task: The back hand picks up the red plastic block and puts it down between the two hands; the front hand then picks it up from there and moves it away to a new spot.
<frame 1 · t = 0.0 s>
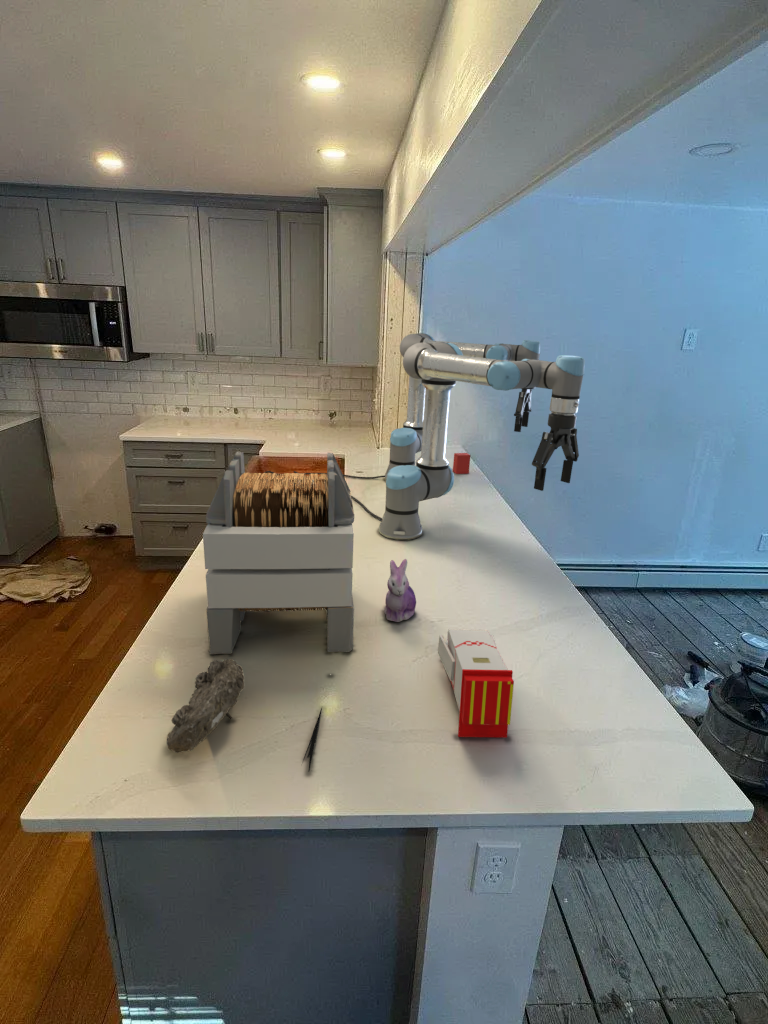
front hand: (552, 485, 166), 28 cm above the counter, tool pointing down, fingers open, 13 cm apart
back hand: (520, 429, 245), 28 cm above the counter, tool pointing down, fingers open, 13 cm apart
block: (460, 472, 280), on the counter
fossil: (212, 717, 108), on the counter
record crate: (285, 616, 144), on the counter
feather: (319, 719, 109), on the counter
toy: (469, 691, 119), on the counter
figurine: (399, 614, 147), on the counter
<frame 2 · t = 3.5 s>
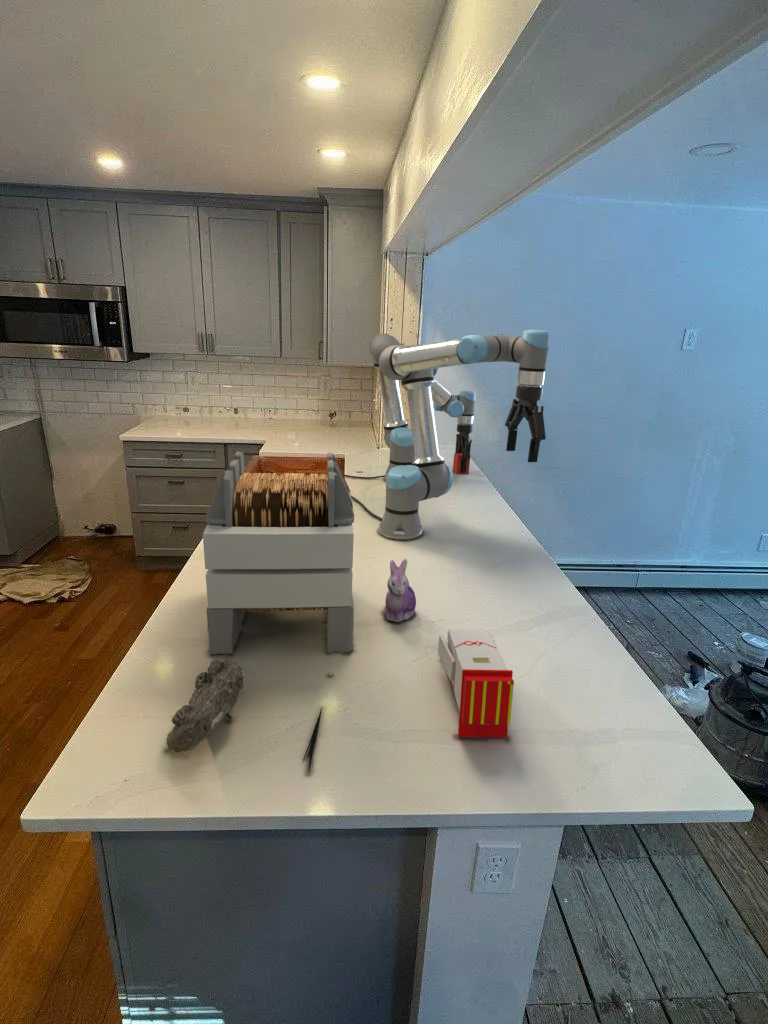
front hand: (521, 456, 173), 34 cm above the counter, tool pointing down, fingers open, 13 cm apart
back hand: (460, 470, 279), 1 cm above the counter, tool pointing down, fingers closed on block, 5 cm apart
block: (460, 472, 280), on the counter, touching back hand
everything else where it was.
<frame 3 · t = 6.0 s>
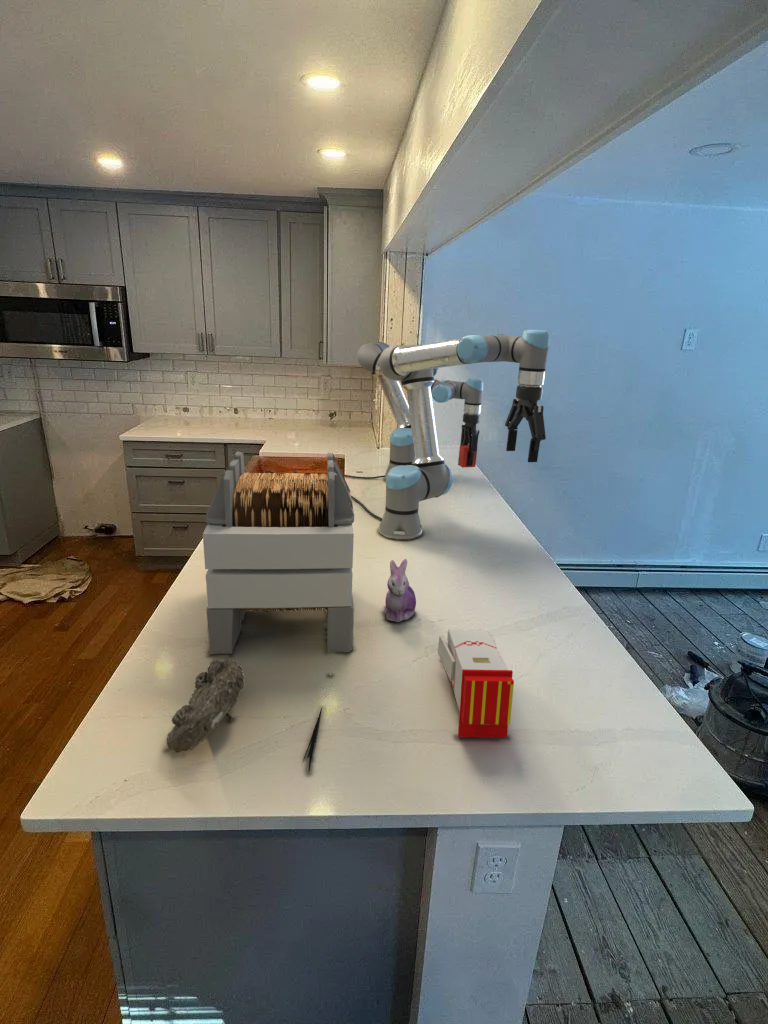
front hand: (521, 456, 173), 34 cm above the counter, tool pointing down, fingers open, 13 cm apart
back hand: (466, 464, 261), 9 cm above the counter, tool pointing down, fingers closed on block, 5 cm apart
block: (466, 465, 262), point 8 cm above the counter, touching back hand
everything else where it was.
when the back hand's fingers open (3 cm above the counter, at t = 8.4 s): block drops 2 cm, on the counter.
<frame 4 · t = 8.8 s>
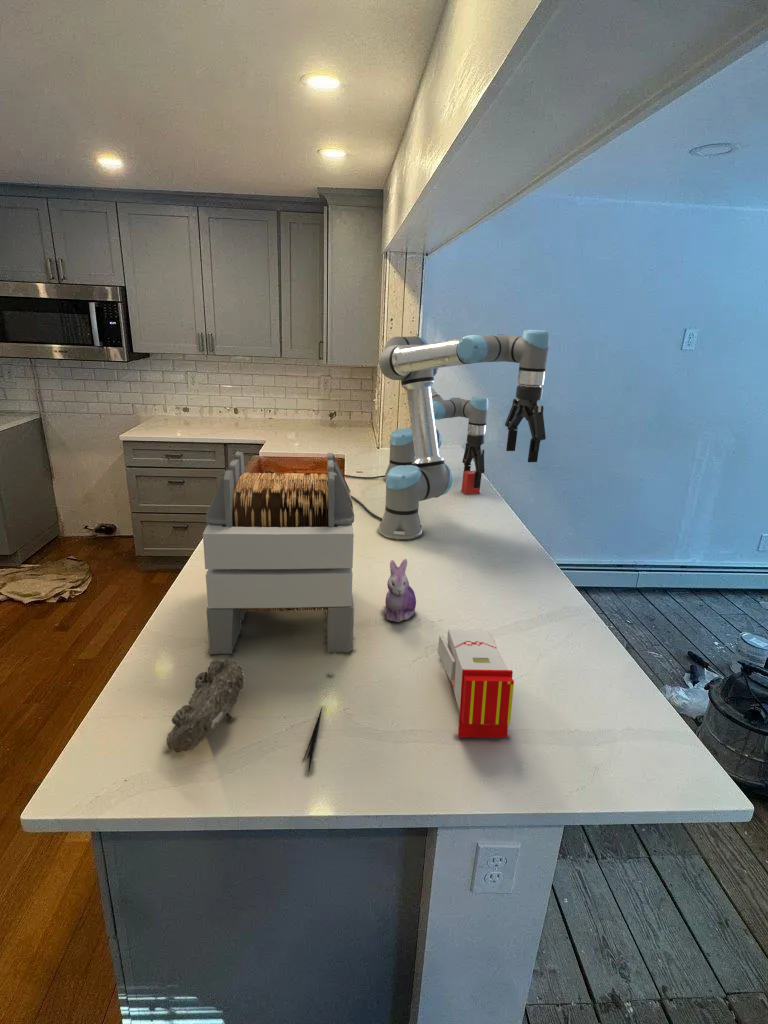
front hand: (521, 456, 173), 34 cm above the counter, tool pointing down, fingers open, 13 cm apart
back hand: (471, 483, 248), 4 cm above the counter, tool pointing down, fingers open, 10 cm apart
block: (470, 492, 249), on the counter
everything else where it was.
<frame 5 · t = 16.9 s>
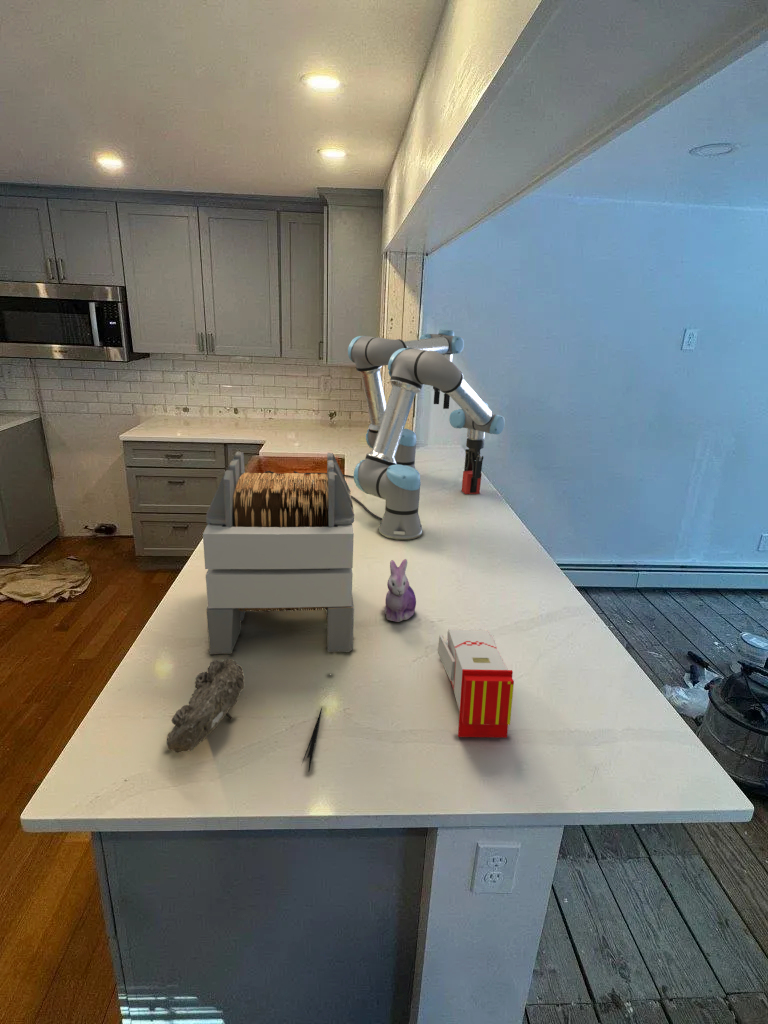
front hand: (470, 490, 249), 1 cm above the counter, tool pointing down, fingers closed on block, 5 cm apart
back hand: (441, 406, 285), 29 cm above the counter, tool pointing down, fingers open, 13 cm apart
block: (470, 492, 249), on the counter, touching front hand
everything else where it was.
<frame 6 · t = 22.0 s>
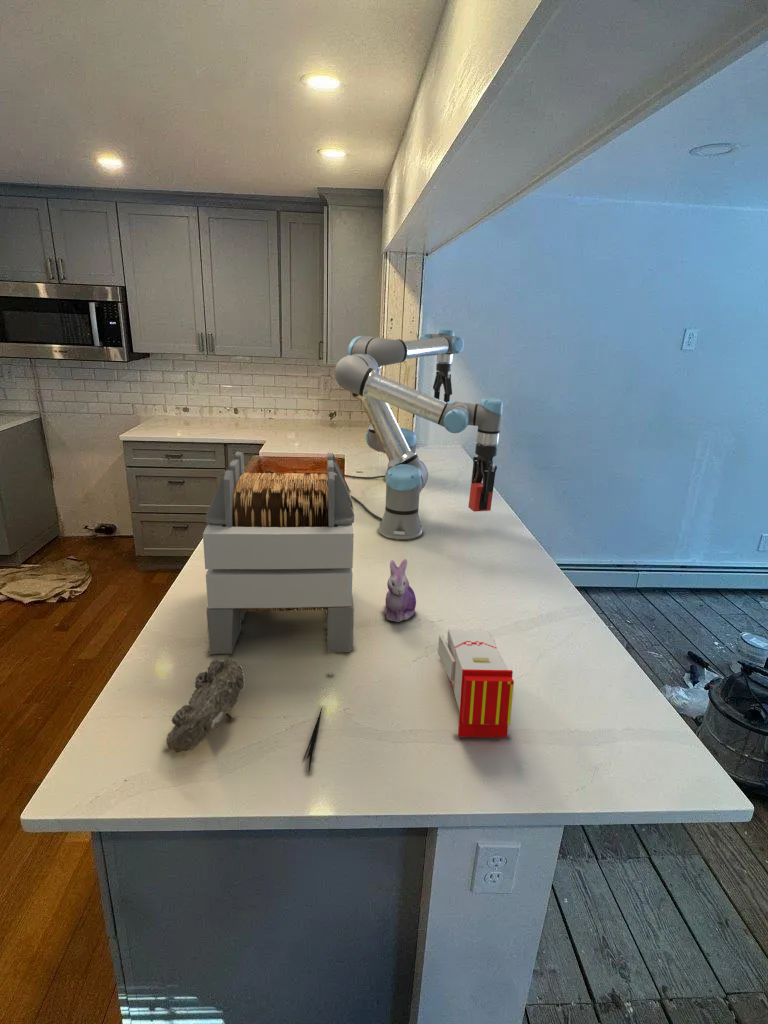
front hand: (479, 506, 205), 8 cm above the counter, tool pointing down, fingers closed on block, 5 cm apart
back hand: (441, 406, 285), 29 cm above the counter, tool pointing down, fingers open, 13 cm apart
block: (479, 509, 206), point 8 cm above the counter, touching front hand
everything else where it was.
when the front hand's fingers open (3 cm above the counter, at t = 27.1 s): block drops 2 cm, on the counter.
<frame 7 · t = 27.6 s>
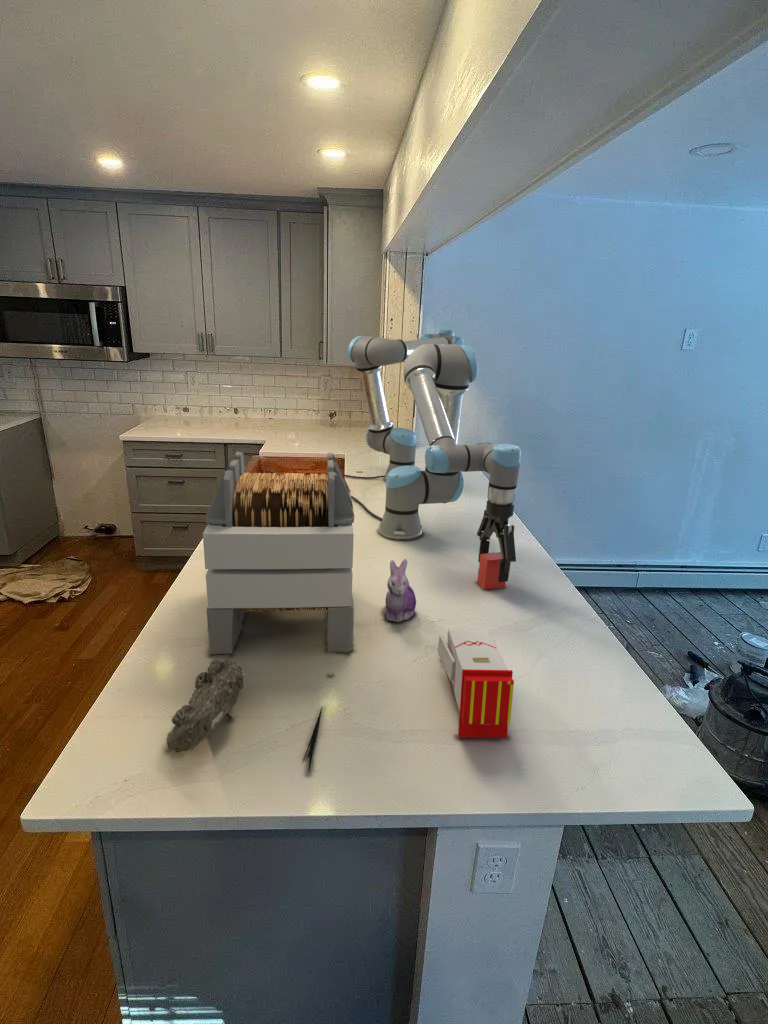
front hand: (492, 571, 164), 5 cm above the counter, tool pointing down, fingers open, 12 cm apart
back hand: (441, 406, 285), 29 cm above the counter, tool pointing down, fingers open, 13 cm apart
block: (491, 585, 166), on the counter
everything else where it was.
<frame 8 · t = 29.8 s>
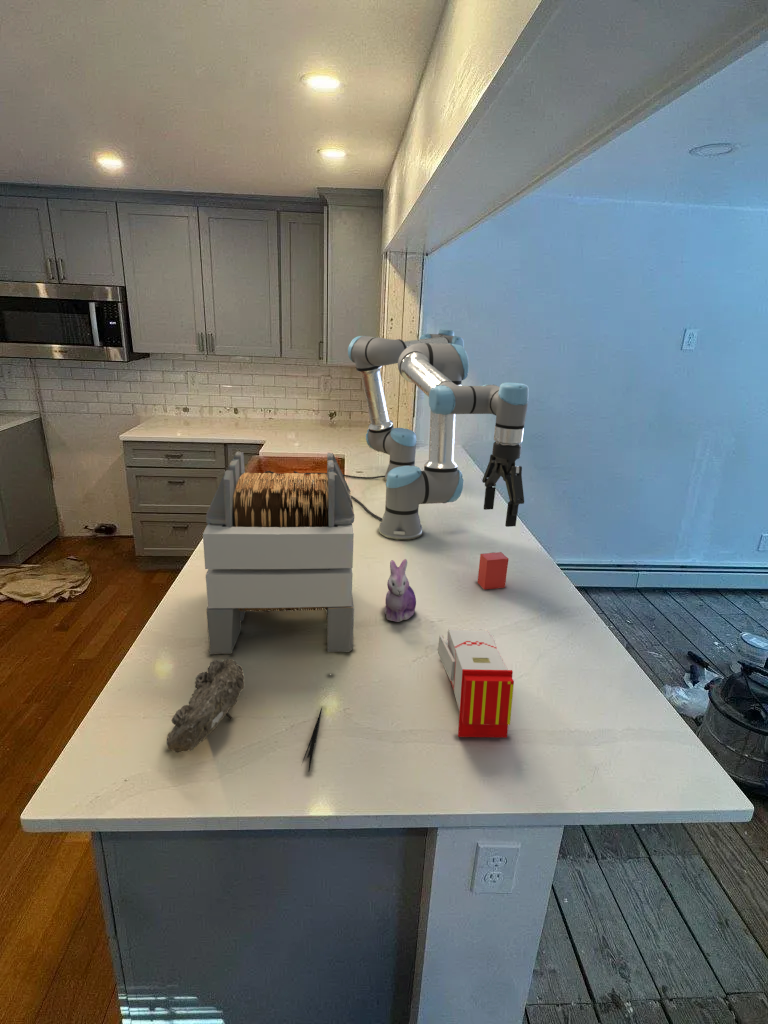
front hand: (498, 517, 158), 21 cm above the counter, tool pointing down, fingers open, 13 cm apart
back hand: (441, 406, 285), 29 cm above the counter, tool pointing down, fingers open, 13 cm apart
nothing on the counter moved.
at the end: block inside the target area (0.2 cm from its centre), on the counter; block tilted 0°; the two hands never held the block at the same time; the front hand is holding nothing; the back hand is holding nothing; block at rest at the end (0.0 cm/s) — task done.
